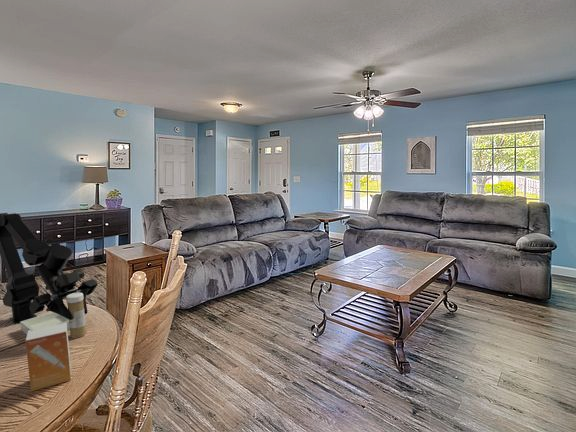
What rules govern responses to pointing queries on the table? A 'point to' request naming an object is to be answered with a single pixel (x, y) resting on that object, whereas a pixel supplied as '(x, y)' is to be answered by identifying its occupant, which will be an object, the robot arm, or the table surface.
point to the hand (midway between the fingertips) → (79, 316)
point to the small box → (48, 356)
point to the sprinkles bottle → (76, 314)
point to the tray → (43, 322)
